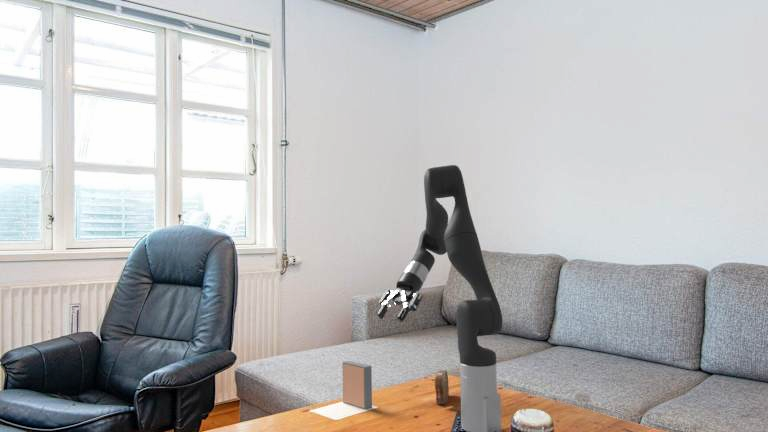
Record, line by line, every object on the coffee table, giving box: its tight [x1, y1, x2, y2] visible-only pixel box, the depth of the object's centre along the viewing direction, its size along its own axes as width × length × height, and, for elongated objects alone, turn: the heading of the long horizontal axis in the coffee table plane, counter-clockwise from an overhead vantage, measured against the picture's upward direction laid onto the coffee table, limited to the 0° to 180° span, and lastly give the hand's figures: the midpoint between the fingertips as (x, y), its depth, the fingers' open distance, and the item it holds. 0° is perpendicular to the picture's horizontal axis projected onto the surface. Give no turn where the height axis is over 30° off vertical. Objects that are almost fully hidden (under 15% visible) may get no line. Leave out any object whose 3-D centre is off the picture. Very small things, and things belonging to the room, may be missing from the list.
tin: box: [434, 369, 450, 405], centre depth 169 cm, size 15×3×8 cm, turn 168°
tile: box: [342, 360, 373, 410], centre depth 164 cm, size 10×3×12 cm, turn 44°
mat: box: [309, 401, 379, 421], centre depth 160 cm, size 12×16×1 cm
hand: (389, 318), depth 171 cm, fingers open, 8 cm apart
